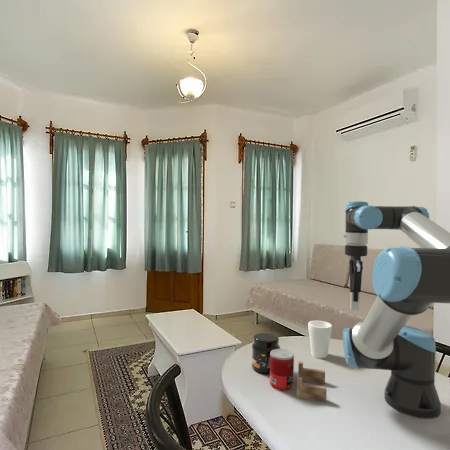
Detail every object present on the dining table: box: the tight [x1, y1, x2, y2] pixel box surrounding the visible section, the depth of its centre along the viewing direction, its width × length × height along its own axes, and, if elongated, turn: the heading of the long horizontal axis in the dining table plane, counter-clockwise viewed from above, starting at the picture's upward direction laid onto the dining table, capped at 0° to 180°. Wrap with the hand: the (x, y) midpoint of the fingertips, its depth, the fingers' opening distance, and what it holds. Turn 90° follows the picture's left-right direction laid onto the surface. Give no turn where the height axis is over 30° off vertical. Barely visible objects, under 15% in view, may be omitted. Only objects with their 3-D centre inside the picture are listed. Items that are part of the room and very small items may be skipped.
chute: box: [296, 361, 327, 403], centre depth 109 cm, size 9×13×6 cm
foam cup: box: [307, 320, 333, 359], centre depth 136 cm, size 10×9×13 cm
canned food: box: [269, 348, 295, 391], centre depth 111 cm, size 8×8×11 cm
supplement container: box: [251, 332, 281, 375], centre depth 124 cm, size 10×10×12 cm
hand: (354, 309), depth 118 cm, fingers closed
